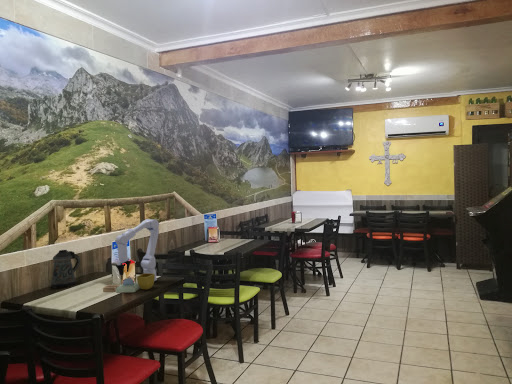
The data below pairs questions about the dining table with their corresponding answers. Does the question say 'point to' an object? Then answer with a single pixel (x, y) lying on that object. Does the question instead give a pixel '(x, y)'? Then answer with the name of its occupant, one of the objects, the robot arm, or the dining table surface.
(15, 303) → the dining table surface
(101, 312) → the dining table surface
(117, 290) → the grey-green flat piece
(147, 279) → the flower pot
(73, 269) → the beer stein
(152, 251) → the robot arm
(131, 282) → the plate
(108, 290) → the stand
